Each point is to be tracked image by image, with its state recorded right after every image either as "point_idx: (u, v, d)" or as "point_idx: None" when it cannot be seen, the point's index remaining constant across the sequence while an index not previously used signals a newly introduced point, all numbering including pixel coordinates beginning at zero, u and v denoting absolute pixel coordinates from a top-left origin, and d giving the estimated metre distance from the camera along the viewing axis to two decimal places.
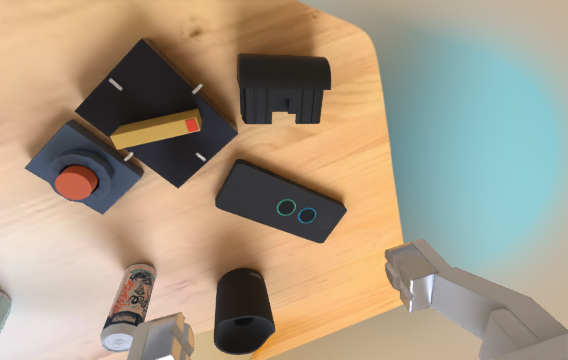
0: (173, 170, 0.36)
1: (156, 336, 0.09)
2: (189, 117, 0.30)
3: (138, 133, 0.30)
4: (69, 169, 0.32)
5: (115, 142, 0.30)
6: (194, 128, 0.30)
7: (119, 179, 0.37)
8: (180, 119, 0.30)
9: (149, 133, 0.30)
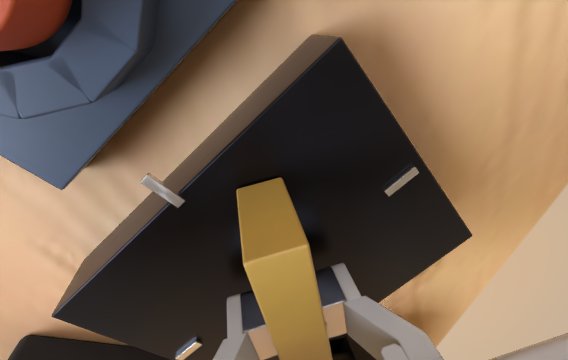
0: (127, 301, 0.11)
1: (251, 307, 0.10)
2: None
3: (310, 320, 0.08)
4: None
5: (278, 261, 0.07)
6: None
7: None
8: None
9: (308, 345, 0.08)
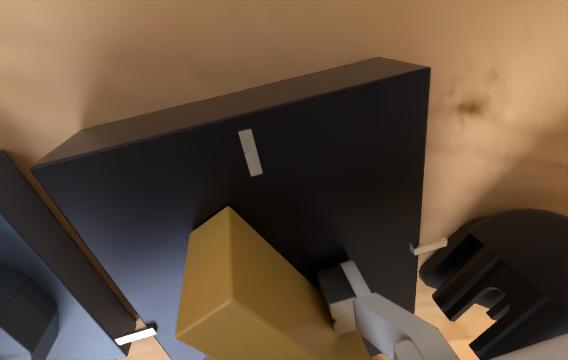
0: None
1: None
2: None
3: (291, 358, 0.07)
4: None
5: (210, 324, 0.06)
6: None
7: (60, 350, 0.12)
8: None
9: None
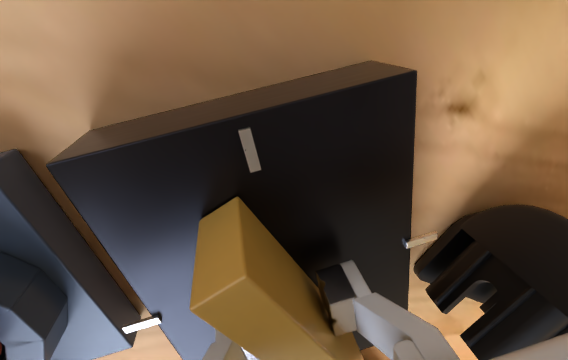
0: None
1: None
2: None
3: (292, 338, 0.08)
4: None
5: (223, 298, 0.06)
6: None
7: (69, 340, 0.13)
8: None
9: (303, 358, 0.08)
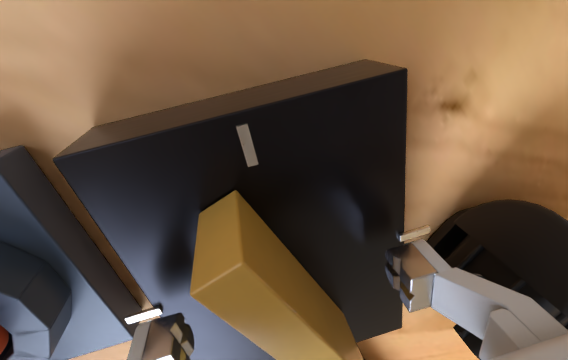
0: (228, 359, 0.14)
1: (156, 336, 0.09)
2: None
3: (287, 323, 0.08)
4: None
5: (221, 284, 0.07)
6: None
7: (73, 332, 0.13)
8: None
9: (299, 344, 0.09)
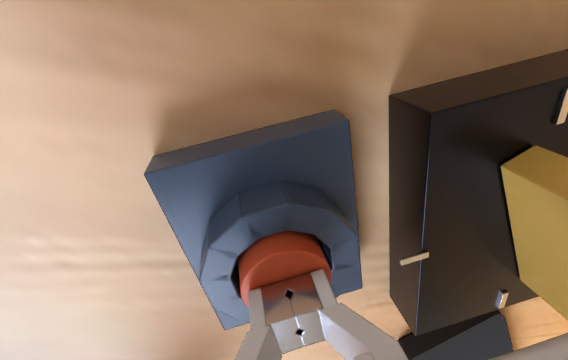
0: (443, 306, 0.16)
1: (272, 300, 0.10)
2: None
3: None
4: (300, 236, 0.11)
5: None
6: None
7: None
8: None
9: None
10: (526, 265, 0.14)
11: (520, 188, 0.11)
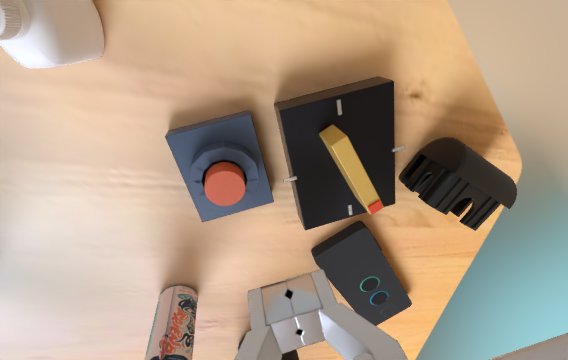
0: (316, 211, 0.31)
1: (273, 300, 0.10)
2: (379, 200, 0.28)
3: (356, 162, 0.25)
4: (230, 167, 0.25)
5: (340, 143, 0.24)
6: (373, 210, 0.28)
7: None
8: None
9: (358, 172, 0.26)
10: (349, 185, 0.30)
11: (325, 142, 0.26)
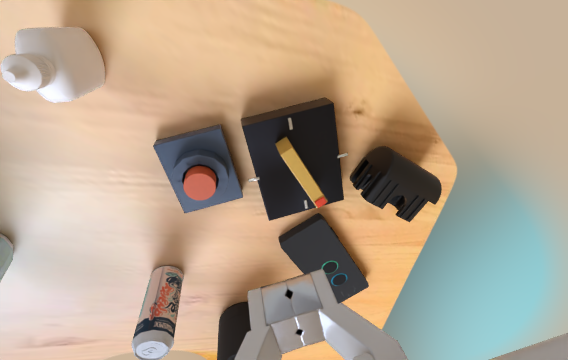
0: (277, 205, 0.38)
1: (272, 300, 0.10)
2: (324, 196, 0.35)
3: (301, 167, 0.32)
4: (204, 170, 0.33)
5: (287, 152, 0.31)
6: (319, 204, 0.35)
7: None
8: (321, 191, 0.35)
9: (304, 175, 0.33)
10: None
11: None
